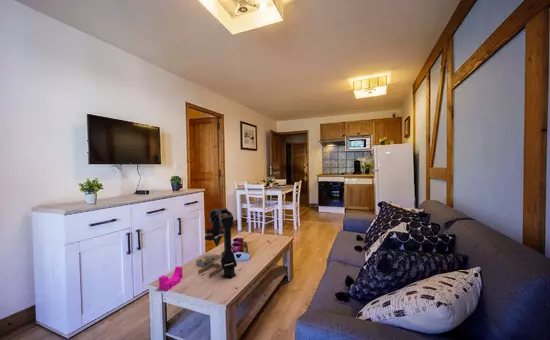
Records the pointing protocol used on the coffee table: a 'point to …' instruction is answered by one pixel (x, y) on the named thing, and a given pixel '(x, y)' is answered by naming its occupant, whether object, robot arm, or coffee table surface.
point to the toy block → (170, 279)
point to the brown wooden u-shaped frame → (210, 267)
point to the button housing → (203, 264)
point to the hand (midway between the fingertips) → (216, 246)
